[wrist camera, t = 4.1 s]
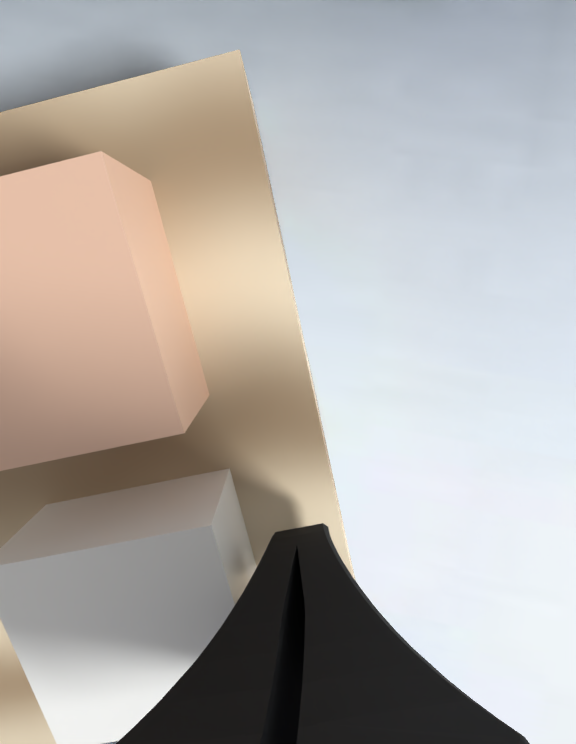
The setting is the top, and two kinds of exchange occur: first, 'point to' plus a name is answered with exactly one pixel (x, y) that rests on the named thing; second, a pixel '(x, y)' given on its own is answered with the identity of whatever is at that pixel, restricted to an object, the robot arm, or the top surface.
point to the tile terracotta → (89, 315)
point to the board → (205, 312)
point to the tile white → (121, 597)
